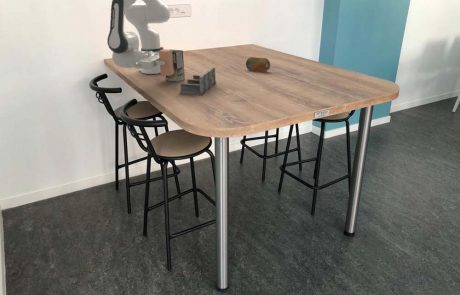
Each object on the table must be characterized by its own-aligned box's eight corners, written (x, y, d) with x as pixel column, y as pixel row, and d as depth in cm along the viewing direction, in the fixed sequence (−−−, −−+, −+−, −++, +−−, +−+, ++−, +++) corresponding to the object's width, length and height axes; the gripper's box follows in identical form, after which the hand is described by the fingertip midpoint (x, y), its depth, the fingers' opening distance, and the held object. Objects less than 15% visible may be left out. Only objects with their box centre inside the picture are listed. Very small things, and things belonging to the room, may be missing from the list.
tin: (245, 70, 227) (245, 56, 223) (247, 69, 229) (247, 55, 225) (268, 73, 220) (269, 58, 217) (270, 72, 223) (271, 57, 219)
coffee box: (185, 79, 209) (183, 50, 202) (178, 82, 204) (176, 52, 197) (172, 77, 213) (170, 48, 207) (165, 80, 208) (162, 50, 202)
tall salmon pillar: (164, 72, 192) (162, 49, 186) (173, 73, 190) (171, 49, 185) (161, 75, 188) (158, 51, 183) (170, 75, 187) (168, 51, 181)
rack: (195, 82, 203) (194, 66, 199) (216, 83, 200) (215, 67, 196) (180, 93, 185) (178, 75, 181) (203, 95, 182) (202, 76, 178)
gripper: (132, 58, 179) (158, 59, 176) (151, 50, 197) (175, 51, 193) (133, 71, 182) (159, 72, 178) (152, 61, 200) (176, 63, 196)
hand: (167, 61), depth 186 cm, fingers closed on tall salmon pillar, 4 cm apart
